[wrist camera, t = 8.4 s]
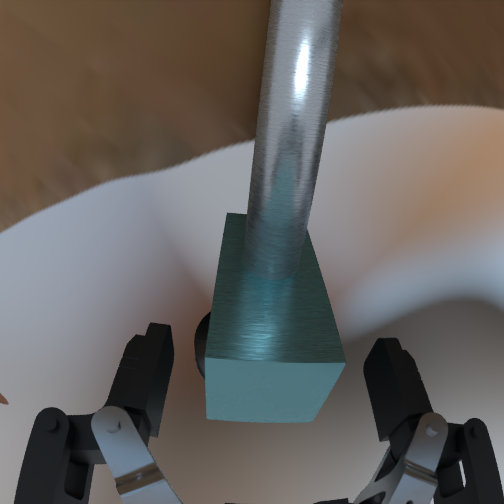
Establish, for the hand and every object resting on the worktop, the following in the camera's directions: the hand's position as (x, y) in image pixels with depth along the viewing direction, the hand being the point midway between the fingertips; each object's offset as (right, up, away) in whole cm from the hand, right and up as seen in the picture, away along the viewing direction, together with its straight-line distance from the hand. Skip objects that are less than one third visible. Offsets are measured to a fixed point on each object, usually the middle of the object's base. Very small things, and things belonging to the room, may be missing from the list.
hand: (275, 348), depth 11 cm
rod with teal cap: (0, +10, +2) cm, 10 cm away
